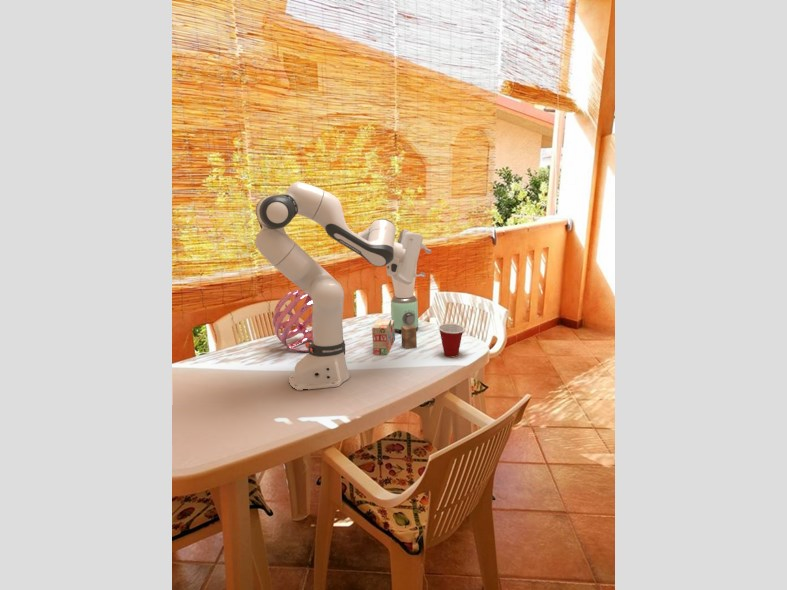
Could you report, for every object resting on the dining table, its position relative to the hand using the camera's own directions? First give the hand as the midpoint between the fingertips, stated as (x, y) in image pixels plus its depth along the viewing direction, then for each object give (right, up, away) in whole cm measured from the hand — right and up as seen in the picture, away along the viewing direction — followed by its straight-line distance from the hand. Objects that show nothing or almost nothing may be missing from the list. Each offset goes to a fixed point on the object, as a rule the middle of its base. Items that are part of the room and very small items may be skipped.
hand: (427, 263), depth 192 cm
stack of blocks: (-17, -35, +25) cm, 46 cm away
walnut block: (-7, -35, +23) cm, 43 cm away
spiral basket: (-53, -36, +28) cm, 70 cm away
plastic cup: (+11, -37, +12) cm, 41 cm away
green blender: (-8, -29, +48) cm, 57 cm away
